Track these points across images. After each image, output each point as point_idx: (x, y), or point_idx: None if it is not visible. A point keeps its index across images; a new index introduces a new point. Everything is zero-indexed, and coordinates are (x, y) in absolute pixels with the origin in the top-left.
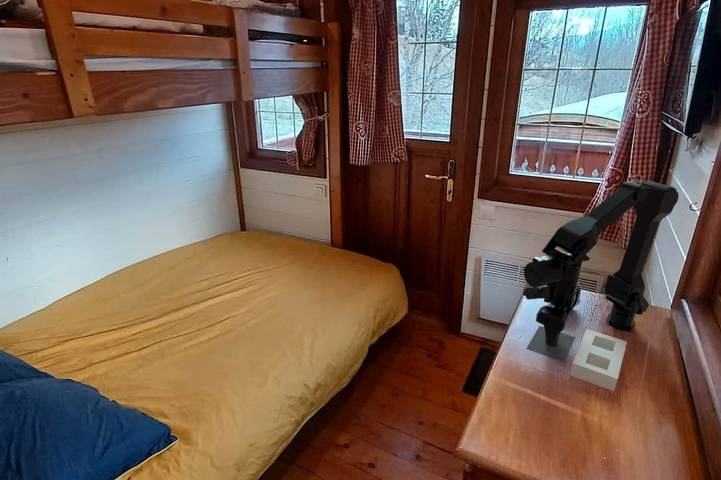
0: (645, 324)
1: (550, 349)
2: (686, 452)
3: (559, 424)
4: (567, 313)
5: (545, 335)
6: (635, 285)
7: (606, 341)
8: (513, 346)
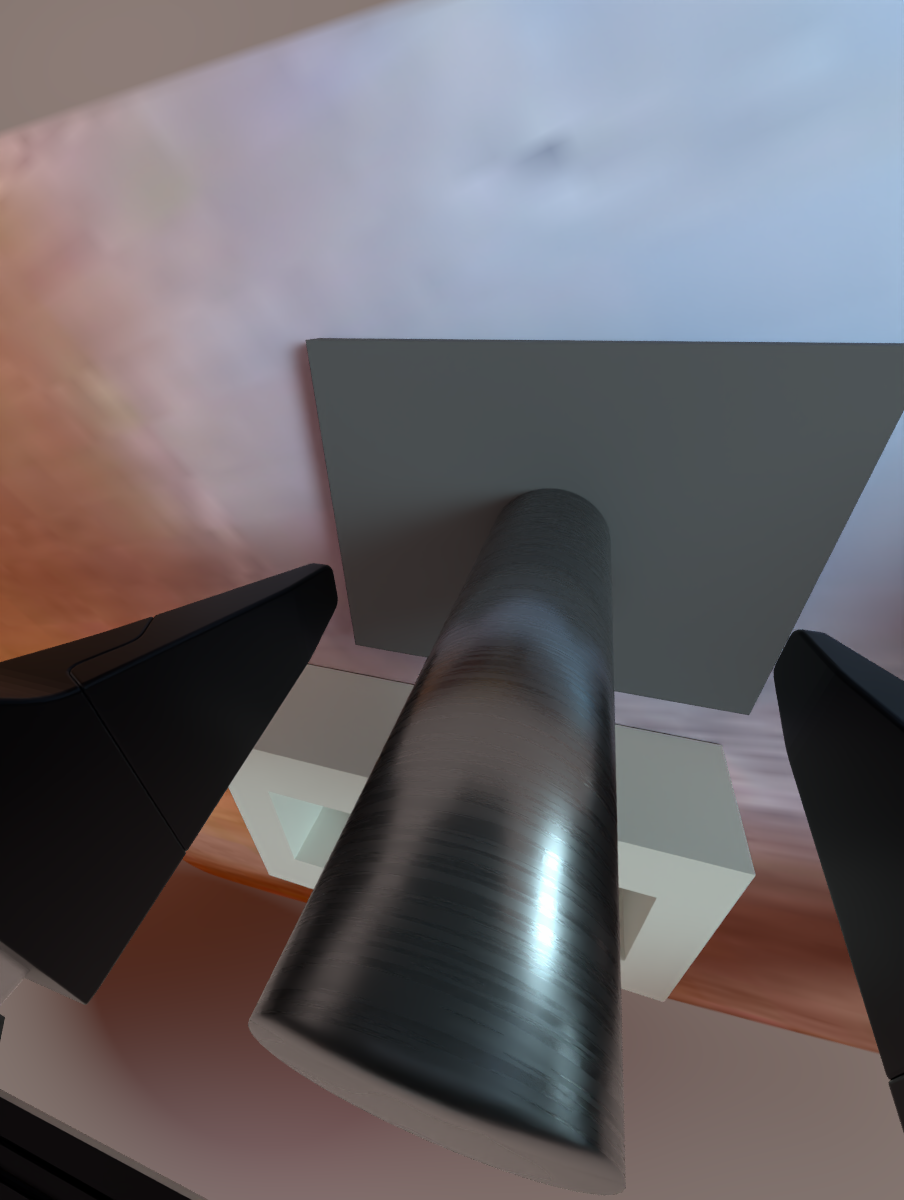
0: None
1: (439, 550)
2: (235, 874)
3: (4, 625)
4: (849, 935)
5: (227, 591)
6: None
7: (635, 914)
8: (288, 166)
